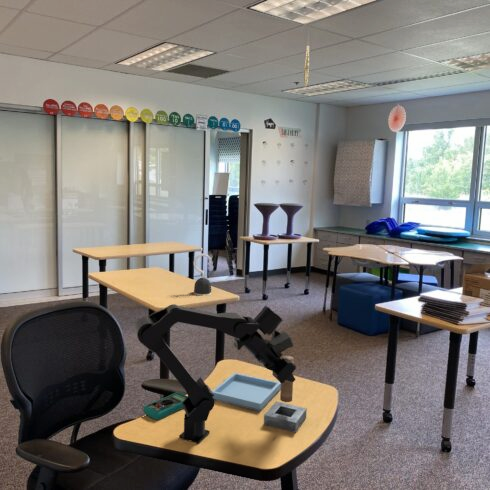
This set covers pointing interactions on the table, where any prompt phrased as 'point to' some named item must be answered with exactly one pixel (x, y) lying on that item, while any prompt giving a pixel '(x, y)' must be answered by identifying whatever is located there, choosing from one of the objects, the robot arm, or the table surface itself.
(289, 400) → the walnut dowel
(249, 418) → the table surface
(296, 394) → the table surface
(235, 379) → the slate-blue tray
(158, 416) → the digital multimeter
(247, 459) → the table surface
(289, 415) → the grey socket block
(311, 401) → the table surface
